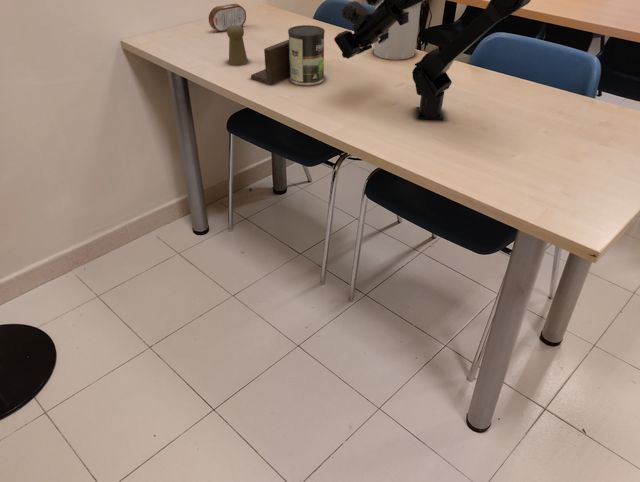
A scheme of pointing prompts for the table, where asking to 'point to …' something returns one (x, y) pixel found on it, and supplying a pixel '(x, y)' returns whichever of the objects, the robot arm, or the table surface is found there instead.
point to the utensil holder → (400, 37)
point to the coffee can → (306, 54)
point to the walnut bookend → (275, 64)
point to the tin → (227, 17)
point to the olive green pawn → (236, 46)
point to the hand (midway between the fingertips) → (343, 56)
